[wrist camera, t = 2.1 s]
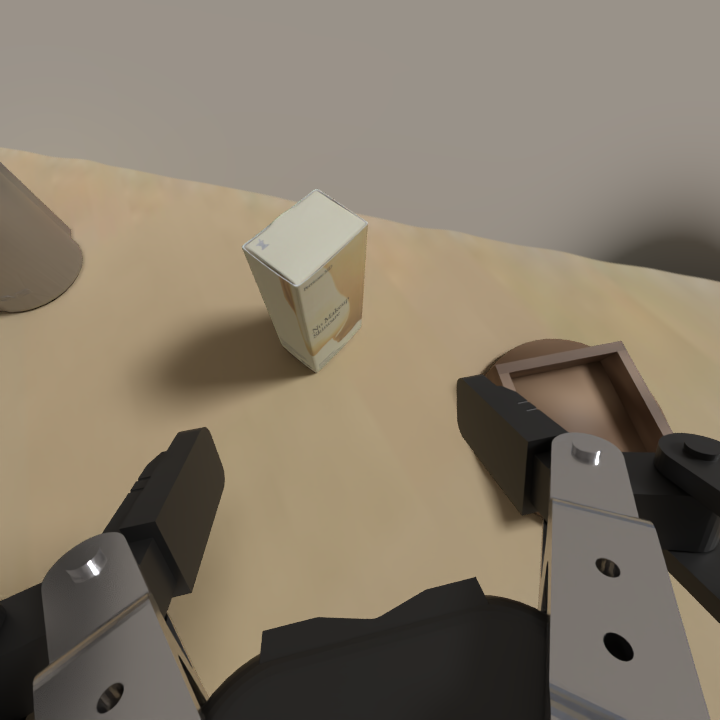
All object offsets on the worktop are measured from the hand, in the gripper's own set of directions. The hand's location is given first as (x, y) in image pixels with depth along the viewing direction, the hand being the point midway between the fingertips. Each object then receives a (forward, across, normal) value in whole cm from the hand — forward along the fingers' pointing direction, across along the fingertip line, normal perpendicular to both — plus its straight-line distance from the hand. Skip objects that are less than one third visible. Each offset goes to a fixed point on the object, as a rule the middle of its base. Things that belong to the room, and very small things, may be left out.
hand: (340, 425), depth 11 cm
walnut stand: (+11, -18, +12) cm, 24 cm away
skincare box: (+20, 0, +3) cm, 20 cm away
